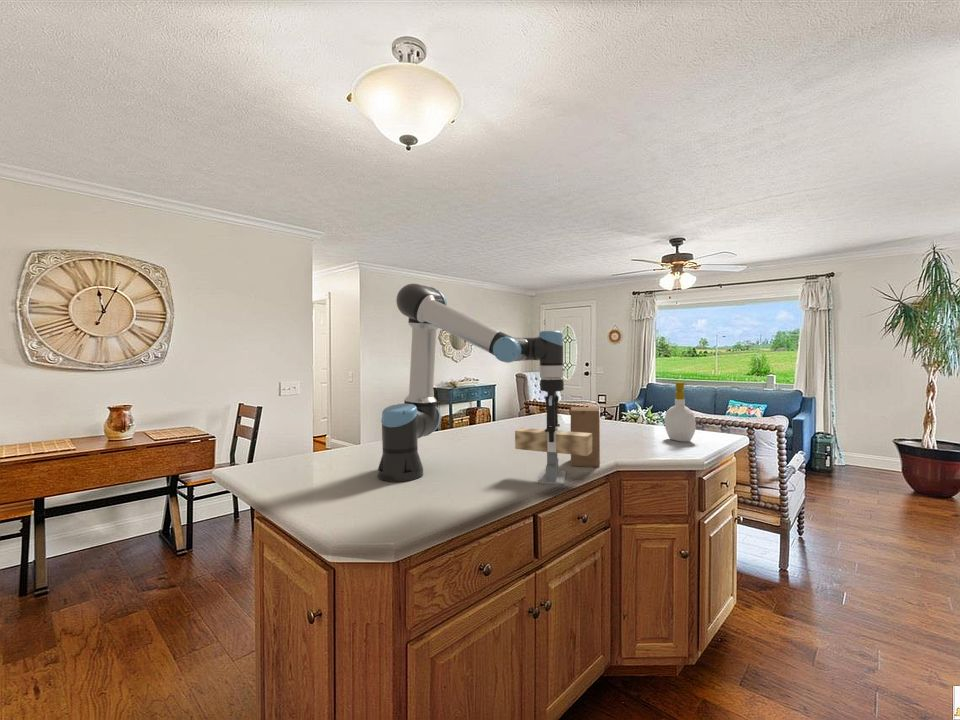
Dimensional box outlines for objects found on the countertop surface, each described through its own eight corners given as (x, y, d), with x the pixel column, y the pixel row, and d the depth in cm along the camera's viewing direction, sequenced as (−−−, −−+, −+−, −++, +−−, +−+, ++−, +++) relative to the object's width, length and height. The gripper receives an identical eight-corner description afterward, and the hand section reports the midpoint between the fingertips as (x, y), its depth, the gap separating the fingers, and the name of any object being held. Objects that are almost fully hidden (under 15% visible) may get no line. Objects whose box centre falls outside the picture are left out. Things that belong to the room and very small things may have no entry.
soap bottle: (701, 441, 201) (701, 382, 200) (689, 444, 196) (689, 383, 196) (672, 436, 213) (672, 380, 213) (660, 438, 209) (660, 381, 208)
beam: (515, 448, 151) (515, 430, 151) (522, 445, 157) (521, 427, 157) (587, 456, 140) (587, 436, 140) (592, 451, 146) (592, 433, 146)
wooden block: (599, 467, 161) (599, 410, 160) (570, 466, 163) (570, 410, 162) (598, 460, 171) (598, 407, 170) (571, 459, 173) (570, 406, 172)
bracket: (537, 483, 143) (537, 454, 143) (542, 471, 157) (542, 445, 156) (563, 484, 141) (563, 455, 141) (566, 472, 155) (565, 446, 155)
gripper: (561, 380, 137) (562, 456, 138) (565, 376, 157) (566, 443, 157) (536, 380, 139) (537, 455, 140) (543, 376, 159) (544, 442, 159)
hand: (552, 449), depth 149 cm, fingers closed on beam, 7 cm apart
